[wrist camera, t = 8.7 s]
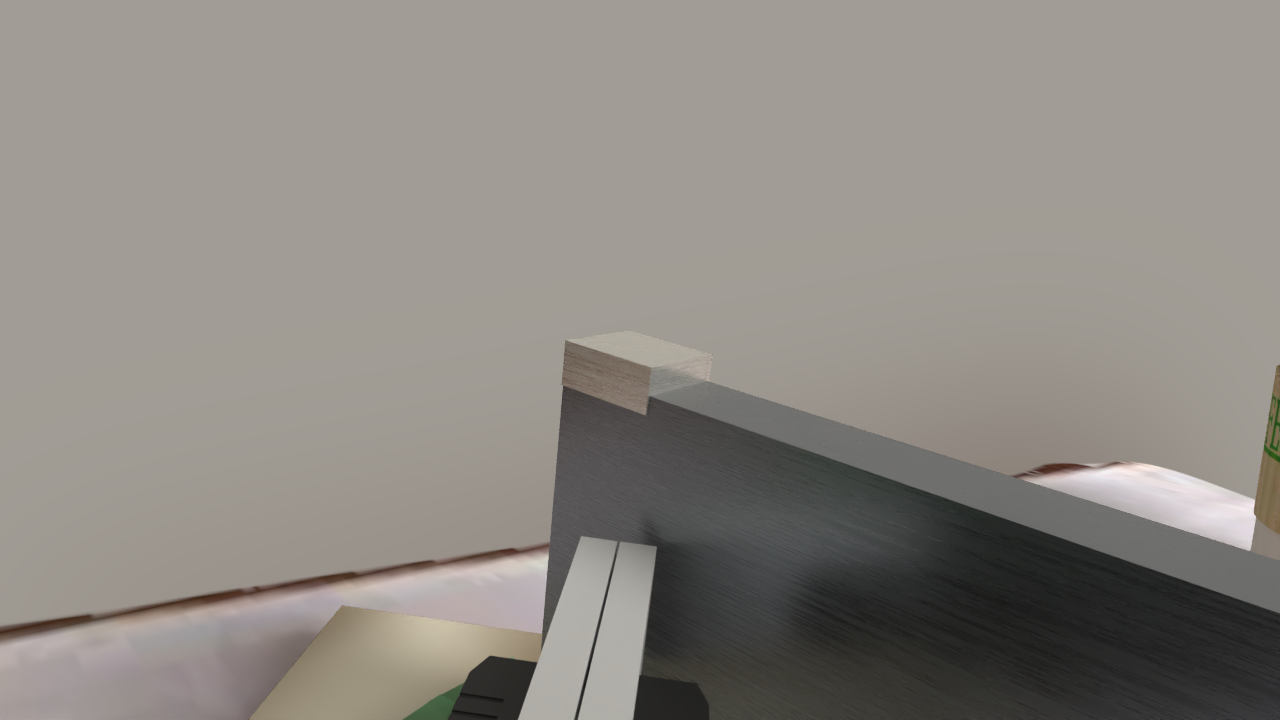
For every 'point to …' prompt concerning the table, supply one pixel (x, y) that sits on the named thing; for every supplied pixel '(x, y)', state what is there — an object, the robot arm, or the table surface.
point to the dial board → (388, 667)
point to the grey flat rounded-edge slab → (888, 566)
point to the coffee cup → (1269, 485)
